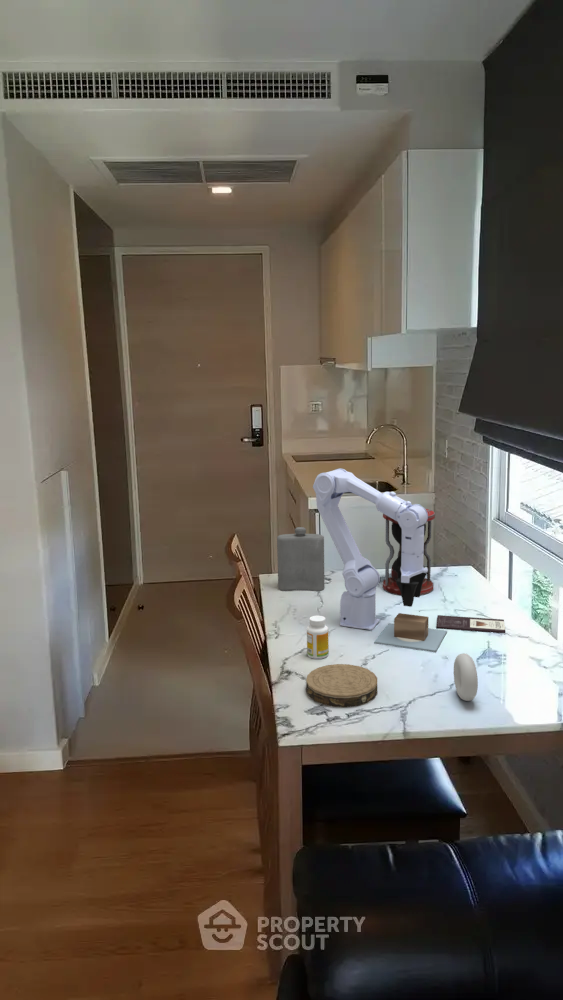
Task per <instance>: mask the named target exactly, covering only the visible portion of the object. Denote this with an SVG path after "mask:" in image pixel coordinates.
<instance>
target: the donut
mask: <svg viewBox="0 0 563 1000" xmlns="http://www.w3.org/2000/svg"><path fill="white" fill-rule="evenodd" d="M453 679H454V686H455V690H456V693H457V696H459V698H460V699H461V700H463V701H465V702H466V701H467V702H469V701H472V700H474V699H475V698H476V696H477V694H478V691H479V690H478V688H479V687H478V686H479V682H478V672H477V667H476V664H475V661H474V660H473V658H472V656H470V655H469V654H468V653H460V654H458V655H456V657H455V659H454V663H453Z"/></svg>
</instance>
